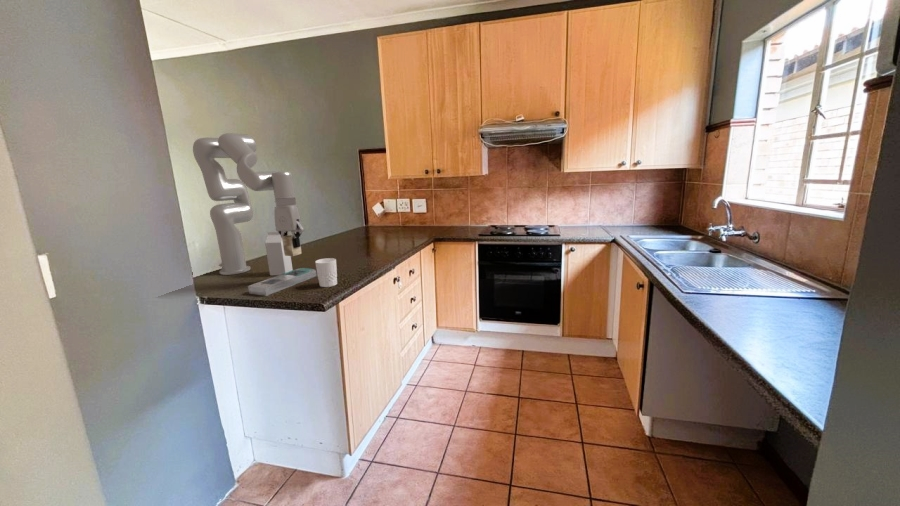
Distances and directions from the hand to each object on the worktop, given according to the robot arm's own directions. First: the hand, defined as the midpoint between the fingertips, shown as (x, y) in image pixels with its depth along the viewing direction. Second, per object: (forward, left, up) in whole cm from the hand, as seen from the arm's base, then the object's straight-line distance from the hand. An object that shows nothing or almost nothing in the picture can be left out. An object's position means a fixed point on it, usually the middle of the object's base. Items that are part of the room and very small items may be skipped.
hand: (292, 246), depth 149 cm
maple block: (0, 0, -3) cm, 3 cm away
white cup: (+18, -1, -15) cm, 23 cm away
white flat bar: (0, -6, -14) cm, 16 cm away
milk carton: (-15, +6, -15) cm, 22 cm away
